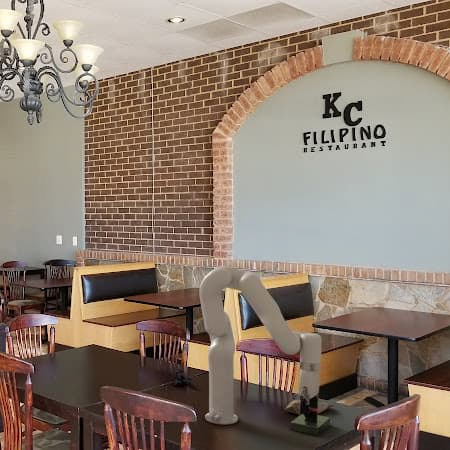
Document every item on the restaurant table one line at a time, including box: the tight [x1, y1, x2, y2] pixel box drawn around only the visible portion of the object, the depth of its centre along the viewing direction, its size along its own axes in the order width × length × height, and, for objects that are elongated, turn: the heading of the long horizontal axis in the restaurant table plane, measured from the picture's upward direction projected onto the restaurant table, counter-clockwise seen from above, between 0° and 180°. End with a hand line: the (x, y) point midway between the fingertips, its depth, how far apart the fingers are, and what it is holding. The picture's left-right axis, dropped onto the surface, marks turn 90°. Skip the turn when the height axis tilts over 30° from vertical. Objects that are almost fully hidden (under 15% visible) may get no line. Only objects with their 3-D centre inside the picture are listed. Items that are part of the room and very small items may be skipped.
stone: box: [284, 399, 335, 416], centre depth 252 cm, size 21×6×10 cm
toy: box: [172, 368, 192, 387], centre depth 293 cm, size 6×8×15 cm
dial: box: [304, 408, 318, 422], centre depth 233 cm, size 5×5×4 cm
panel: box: [290, 414, 331, 437], centre depth 233 cm, size 14×10×3 cm
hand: (308, 411), depth 233 cm, fingers open, 9 cm apart
